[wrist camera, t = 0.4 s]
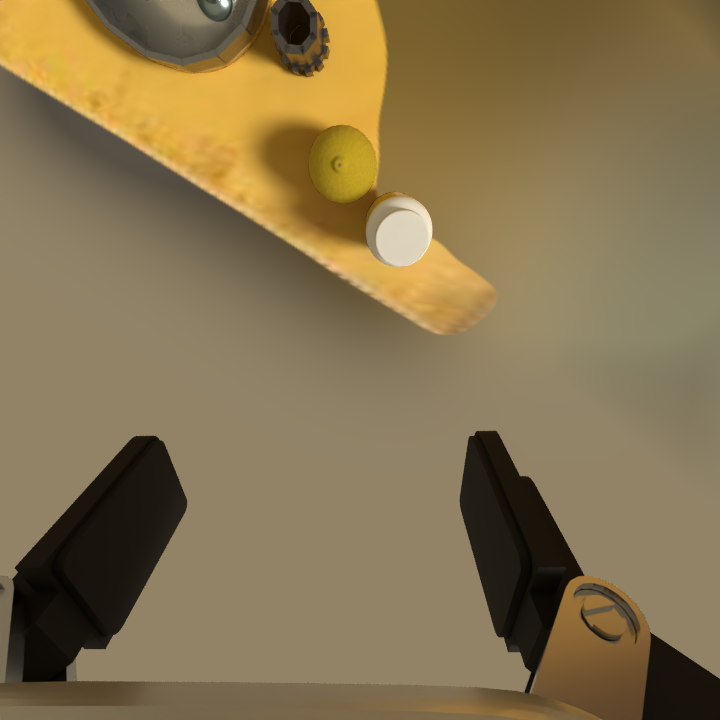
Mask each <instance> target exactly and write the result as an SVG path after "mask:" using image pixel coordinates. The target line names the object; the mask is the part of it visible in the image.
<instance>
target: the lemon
mask: <svg viewBox="0 0 720 720" xmlns="http://www.w3.org/2000/svg"><path fill="white" fill-rule="evenodd" d="M308 166H309V173H310V177H311V179H312V182H313V184H314V186H315V187H316V189H317V190H318V191H319V192H320V193H321V194H322V195H323V196H324V197H325V198H327V199H329V200H330V201H332V202H336V203H351V202H354V201H357V200H358V199H360V198H361V197H363V196H364V195H365V194H366V193H367V192H368V191H369V190H370V188H371V186H372V184H373V182H374V179H375V176H376V170H377V160H376V155H375V151H374V149H373V146H372V144H371V142H370V141H369V140H368V138H367V137H366V136H365V135H364V134H363V133H362V132H361V131H359V130H358V129H356V128H353V127H351V126H347V125H337V126H332V127H330V128H328V129H326V130H324V131H323V132H322V133H321V134H320V135H319V136H318V137H317V138H316V140H315V141H314V143H313V145H312V147H311V150H310V153H309V162H308Z"/></svg>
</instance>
